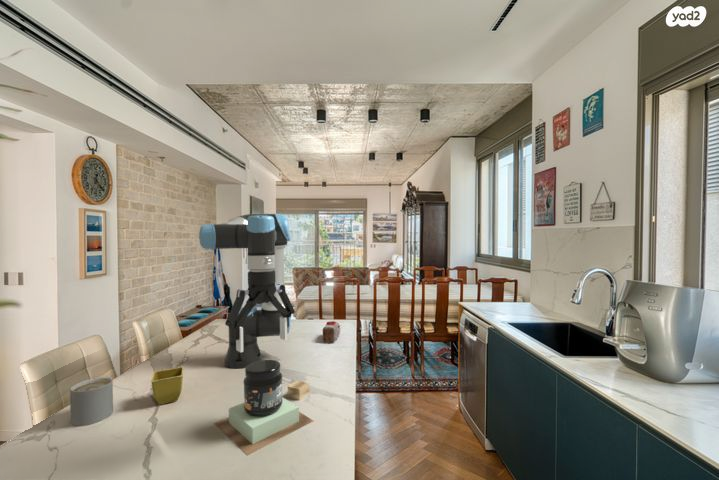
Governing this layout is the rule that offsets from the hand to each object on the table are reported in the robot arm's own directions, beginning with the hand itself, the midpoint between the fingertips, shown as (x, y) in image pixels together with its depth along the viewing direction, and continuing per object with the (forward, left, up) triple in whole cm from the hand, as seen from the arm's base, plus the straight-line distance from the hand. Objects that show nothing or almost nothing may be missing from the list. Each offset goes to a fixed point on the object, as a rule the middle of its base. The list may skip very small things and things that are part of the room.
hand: (262, 344), depth 91 cm
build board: (0, 0, -23) cm, 23 cm away
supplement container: (0, 0, -18) cm, 18 cm away
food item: (-47, +65, -24) cm, 84 cm away
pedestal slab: (0, 0, -22) cm, 22 cm away
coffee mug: (-45, -32, -24) cm, 60 cm away
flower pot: (-38, -14, -24) cm, 47 cm away
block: (-6, +16, -23) cm, 29 cm away
